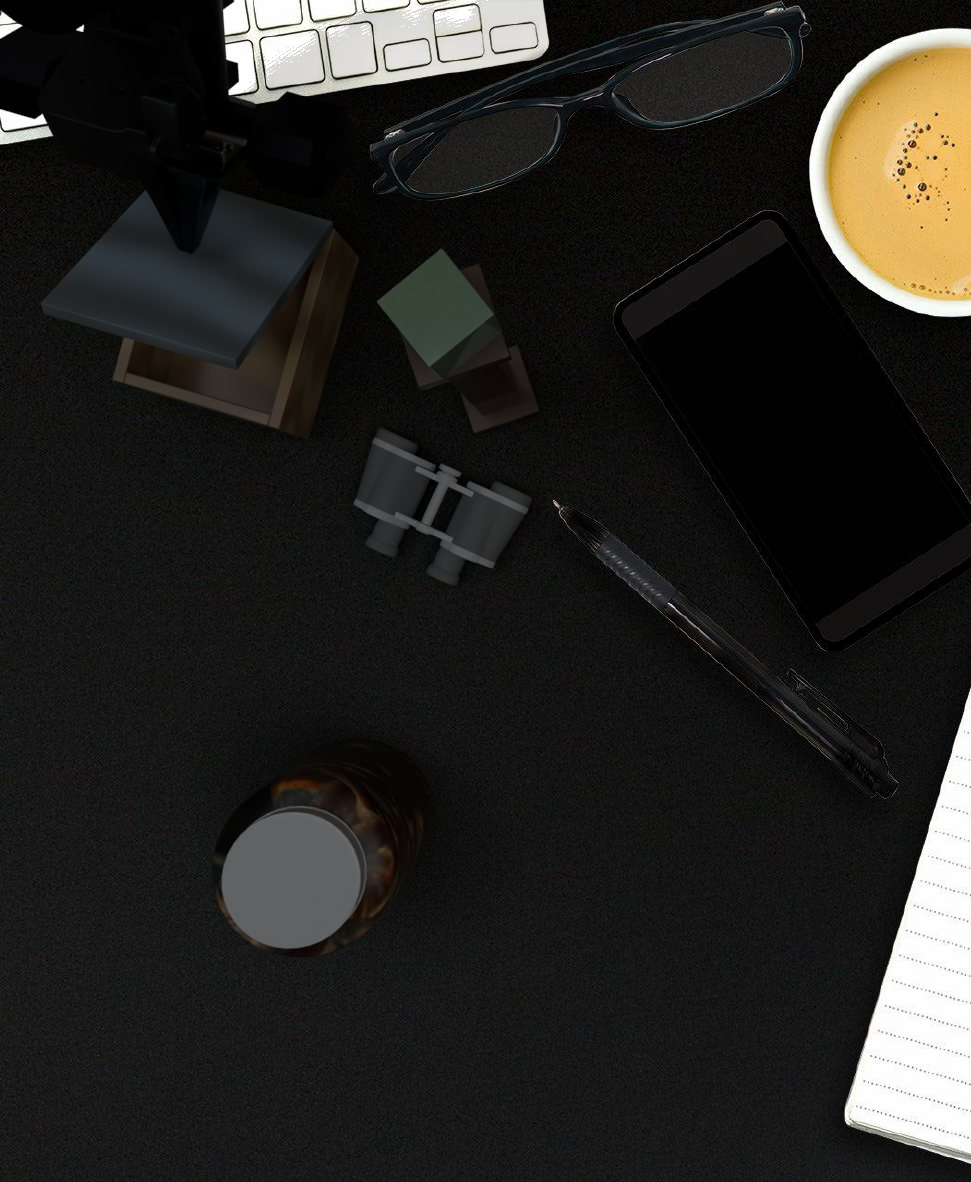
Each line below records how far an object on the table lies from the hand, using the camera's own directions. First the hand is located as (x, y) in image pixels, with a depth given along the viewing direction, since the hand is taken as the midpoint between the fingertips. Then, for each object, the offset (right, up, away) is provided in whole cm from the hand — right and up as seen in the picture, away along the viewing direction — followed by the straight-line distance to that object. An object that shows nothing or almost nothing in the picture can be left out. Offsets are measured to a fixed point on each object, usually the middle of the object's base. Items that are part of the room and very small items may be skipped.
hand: (189, 249), depth 63 cm
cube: (+17, -7, -9) cm, 20 cm away
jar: (+6, -37, +15) cm, 40 cm away
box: (0, -1, +13) cm, 14 cm away
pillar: (+17, -6, +13) cm, 22 cm away
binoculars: (+13, -15, +14) cm, 24 cm away
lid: (0, -1, +2) cm, 2 cm away
